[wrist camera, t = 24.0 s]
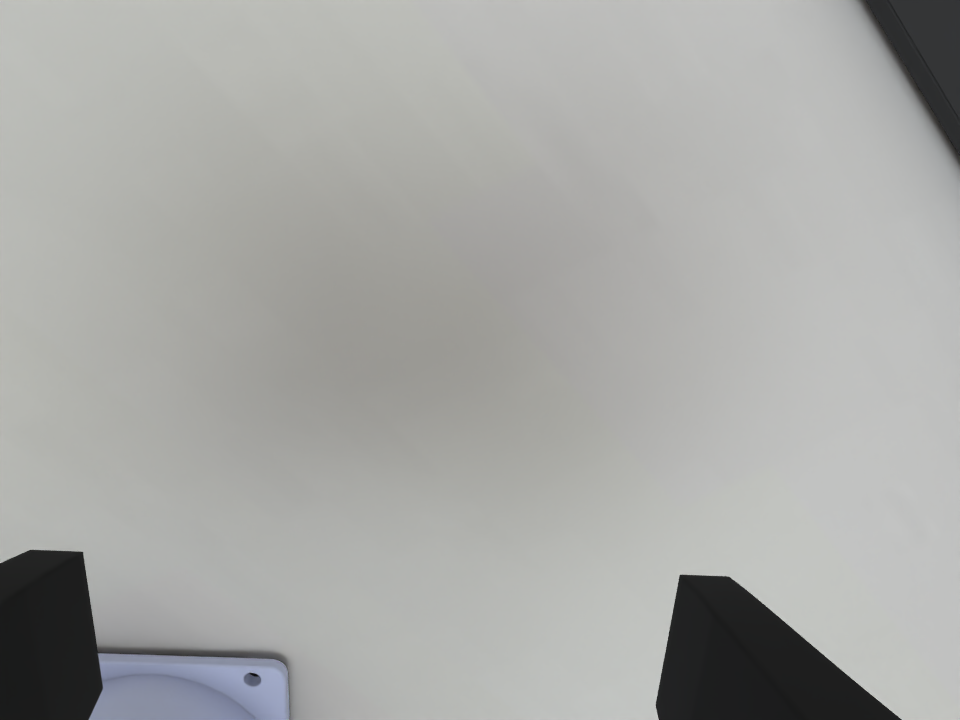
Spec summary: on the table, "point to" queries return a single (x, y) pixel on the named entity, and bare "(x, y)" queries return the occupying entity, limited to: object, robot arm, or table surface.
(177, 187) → the table surface
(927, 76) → the dark grey flat slab
